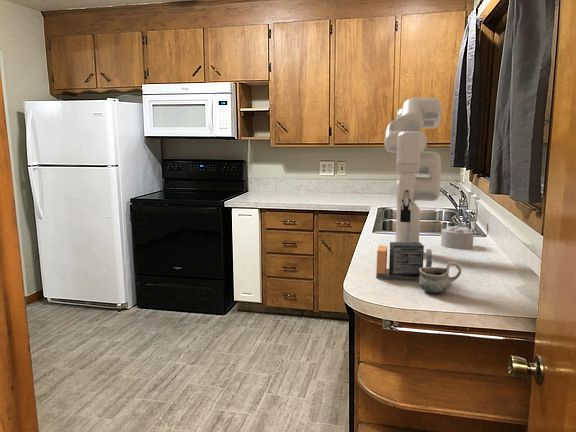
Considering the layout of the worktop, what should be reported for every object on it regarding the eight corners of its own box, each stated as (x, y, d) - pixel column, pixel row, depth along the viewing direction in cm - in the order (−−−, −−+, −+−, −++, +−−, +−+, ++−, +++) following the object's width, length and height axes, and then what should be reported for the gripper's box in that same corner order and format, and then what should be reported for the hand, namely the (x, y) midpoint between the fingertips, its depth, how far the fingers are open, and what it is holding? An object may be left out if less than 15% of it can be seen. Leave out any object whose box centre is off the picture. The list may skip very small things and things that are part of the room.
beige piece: (473, 249, 206) (474, 230, 205) (441, 248, 209) (443, 228, 207) (470, 244, 216) (471, 225, 215) (440, 242, 219) (441, 224, 217)
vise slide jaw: (377, 267, 172) (378, 245, 170) (386, 267, 171) (387, 245, 169) (376, 273, 164) (377, 250, 163) (385, 274, 163) (386, 251, 162)
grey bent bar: (377, 272, 172) (378, 246, 170) (429, 275, 168) (431, 249, 166) (376, 278, 164) (377, 251, 163) (430, 282, 160) (432, 255, 158)
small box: (418, 270, 169) (420, 241, 167) (423, 275, 162) (424, 245, 161) (388, 270, 169) (389, 241, 167) (391, 275, 163) (393, 245, 161)
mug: (415, 286, 156) (416, 256, 154) (454, 287, 155) (456, 257, 153) (421, 296, 147) (423, 264, 145) (463, 297, 146) (465, 265, 144)
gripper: (396, 167, 169) (394, 214, 172) (395, 170, 152) (393, 223, 155) (418, 167, 167) (415, 215, 170) (420, 171, 150) (417, 224, 153)
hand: (405, 219), depth 162 cm, fingers open, 9 cm apart
